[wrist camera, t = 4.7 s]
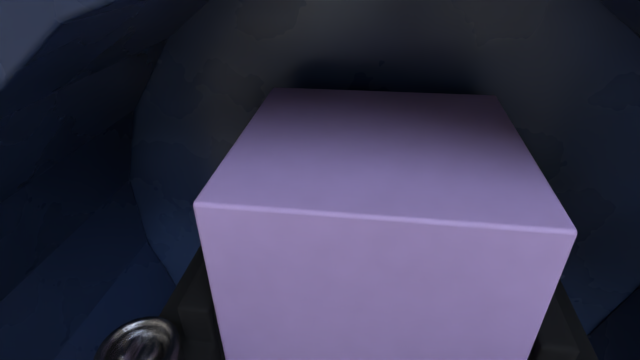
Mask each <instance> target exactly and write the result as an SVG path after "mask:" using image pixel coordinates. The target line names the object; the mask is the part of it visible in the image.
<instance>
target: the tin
mask: <svg viewBox="0 0 640 360" xmlns="http://www.w3.org/2000/svg"><path fill="white" fill-rule="evenodd" d="M275 87H276V88H304V89H331V90H359V91H387V92H414V93H442V94H470V95H494V96H496V97H497V99H498V101H499V102H500V104H501V106H502V107H503V109H504V111H505V112H506V114H507V116H508V117H509V119H510V120H511V122H512V124H513V125H514V127H515V129H516V130H517V132H518V134H519V135H520V137H521V139H522V140H523V142H524V144H525V145H526V147H527V149H528V150H529V152H530V154H531V155H532V157H533V158H534V160H535V162H536V163H537V165H538V167H539V168H540V170H541V172H542V173H543V175H544V177H545V178H546V180H547V182H548V183H549V185H550V187H551V188H552V190H553V191H554V193H555V195H556V196H557V198H558V200H559V201H560V203H561V205H562V206H563V208H564V210H565V211H566V213H567V215H568V216H569V218H570V220H571V221H572V223H573V225H574V226H575V228H576V229H577V236H576V239H575V241H574V244H573V246H572V249H571V251H570V254H569V256H568V259H567V261H566V264H565V266H564V269H563V271H562V274H561V276H560V280H561V282H562V284H563V286H564V289H565V291H566V293H567V295H568V297H569V299H570V301H571V303H572V305H573V308H574V310H575V312H576V314H577V316H578V318H579V320H580V322H581V324H582V326H583V329H584V331H585V333H586V335H587V337H588V339H589V341H590V343H591V345H592V347H593V350H594V352H595V354H596V356H597V358H598V360H640V0H0V360H93V359H94V356H95V354H96V352H97V350H98V348H99V347H100V345H101V343H102V341H103V340H104V339H105V338H106V337H107V336H108V335H109V334H110V333H111V332H112V331H114V330H115V329H117V328H118V327H119V326H121V325H122V324H124V323H127V322H129V321H131V320H134V319H137V318H142V317H146V316H156V317H159V315H160V314H161V312H162V310H163V308H164V307H165V305H166V303H167V302H168V300H169V298H170V296H171V295H172V293H173V291H174V290H175V288H176V286H177V284H178V283H179V281H180V279H181V278H182V276H183V274H184V272H185V271H186V269H187V267H188V266H189V264H190V262H191V260H192V259H193V257H194V255H195V254H196V252H197V250H198V248H199V247H200V245H201V241H200V237H199V232H198V227H197V223H196V218H195V213H194V208H193V203H194V201H195V199H196V198H197V196H198V195H199V193H200V192H201V191H202V189H203V188H204V186H205V185H206V183H207V182H208V181H209V179H210V178H211V176H212V175H213V173H214V172H215V171H216V169H217V168H218V166H219V165H220V163H221V162H222V161H223V159H224V158H225V156H226V155H227V153H228V152H229V151H230V149H231V148H232V146H233V145H234V143H235V142H236V140H237V139H238V138H239V136H240V135H241V133H242V132H243V130H244V129H245V128H246V126H247V125H248V123H249V122H250V120H251V119H252V118H253V116H254V115H255V113H256V112H257V110H258V109H259V108H260V106H261V105H262V103H263V102H264V100H265V99H266V97H267V96H268V95H269V93H270V92H271V90H272V89H273V88H275Z"/></svg>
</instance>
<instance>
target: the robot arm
mask: <svg viewBox="0 0 640 360" xmlns="http://www.w3.org/2000/svg"><path fill="white" fill-rule="evenodd" d="M93 360H226V359H225V355H224V350H223V345H222V341H221V336H220V331H219V326H218V322H217V317H216V312H215V307H214V303H213V298H212V293H211V289H210V284H209V279H208V274H207V270H206V265H205V260H204V256H203V251H202V246H201V245H200V247H199V248H198V250H197V252H196V254H195V255H194V257H193V259H192V260H191V262H190V264H189V266H188V267H187V269H186V271H185V272H184V274H183V276H182V278H181V279H180V281H179V283H178V284H177V286H176V288H175V290H174V291H173V293H172V295H171V296H170V298H169V300H168V302H167V303H166V305H165V307H164V308H163V310H162V312H161V314H160V315H159V317H156V316H146V317H142V318H137V319H134V320H131V321H129V322H127V323H124V324H122V325H121V326H119V327H118V328H117V329H115V330H114V331H112V332H111V333H110V334H109V335H108V336H107V337H106V338H105V339H104V340H103V341H102V343H101V345H100V347H99V348H98V350H97V352H96V354H95V356H94V359H93ZM527 360H598V358H597V356H596V354H595V352H594V350H593V347H592V345H591V343H590V341H589V339H588V337H587V335H586V333H585V331H584V329H583V326H582V324H581V322H580V320H579V318H578V316H577V314H576V312H575V310H574V308H573V305H572V303H571V301H570V299H569V297H568V295H567V293H566V291H565V289H564V286H563V284H562V282H561V280H560V279H559V281H558V284H557V286H556V289H555V291H554V294H553V296H552V299H551V301H550V304H549V306H548V309H547V311H546V314H545V316H544V319H543V321H542V324H541V326H540V329H539V331H538V334H537V336H536V339H535V341H534V344H533V346H532V349H531V351H530V354H529V356H528V359H527Z"/></svg>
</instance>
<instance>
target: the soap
mask: <svg viewBox="0 0 640 360" xmlns="http://www.w3.org/2000/svg"><path fill="white" fill-rule="evenodd" d="M193 208H194V213H195V218H196V223H197V227H198V232H199V237H200V241H201V246H202V251H203V256H204V260H205V265H206V270H207V274H208V279H209V284H210V289H211V293H212V298H213V303H214V307H215V312H216V317H217V322H218V326H219V331H220V336H221V341H222V345H223V350H224V355H225V359H226V360H527V359H528V356H529V354H530V351H531V349H532V346H533V344H534V341H535V339H536V336H537V334H538V331H539V329H540V326H541V324H542V321H543V319H544V316H545V314H546V311H547V309H548V306H549V304H550V301H551V299H552V296H553V294H554V291H555V289H556V286H557V284H558V281H559V279H560V276H561V274H562V271H563V269H564V266H565V264H566V261H567V259H568V256H569V254H570V251H571V249H572V246H573V244H574V241H575V239H576V236H577V229H576V228H575V226H574V225H573V223H572V221H571V220H570V218H569V216H568V215H567V213H566V211H565V210H564V208H563V206H562V205H561V203H560V201H559V200H558V198H557V196H556V195H555V193H554V191H553V190H552V188H551V187H550V185H549V183H548V182H547V180H546V178H545V177H544V175H543V173H542V172H541V170H540V168H539V167H538V165H537V163H536V162H535V160H534V158H533V157H532V155H531V154H530V152H529V150H528V149H527V147H526V145H525V144H524V142H523V140H522V139H521V137H520V135H519V134H518V132H517V130H516V129H515V127H514V125H513V124H512V122H511V120H510V119H509V117H508V116H507V114H506V112H505V111H504V109H503V107H502V106H501V104H500V102H499V101H498V99H497V97H496V96H494V95H470V94H442V93H414V92H387V91H359V90H331V89H304V88H276V87H275V88H273V89H272V90H271V92H270V93H269V95H268V96H267V97H266V99H265V100H264V102H263V103H262V105H261V106H260V108H259V109H258V110H257V112H256V113H255V115H254V116H253V118H252V119H251V120H250V122H249V123H248V125H247V126H246V128H245V129H244V130H243V132H242V133H241V135H240V136H239V138H238V139H237V140H236V142H235V143H234V145H233V146H232V148H231V149H230V151H229V152H228V153H227V155H226V156H225V158H224V159H223V161H222V162H221V163H220V165H219V166H218V168H217V169H216V171H215V172H214V173H213V175H212V176H211V178H210V179H209V181H208V182H207V183H206V185H205V186H204V188H203V189H202V191H201V192H200V193H199V195H198V196H197V198H196V199H195V201H194V203H193Z"/></svg>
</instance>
